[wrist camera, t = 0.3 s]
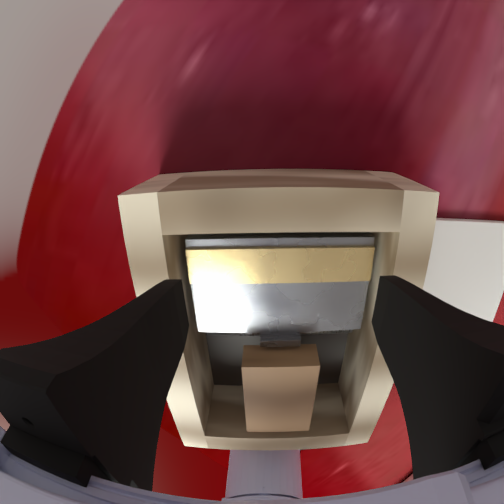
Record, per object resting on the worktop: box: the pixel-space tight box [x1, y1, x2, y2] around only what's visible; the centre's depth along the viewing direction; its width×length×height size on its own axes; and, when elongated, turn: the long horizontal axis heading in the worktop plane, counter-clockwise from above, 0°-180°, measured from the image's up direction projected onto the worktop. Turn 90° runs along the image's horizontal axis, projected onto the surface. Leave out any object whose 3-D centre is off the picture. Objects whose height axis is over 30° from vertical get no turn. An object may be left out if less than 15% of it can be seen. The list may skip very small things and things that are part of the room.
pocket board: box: [118, 169, 439, 450], centre depth 19 cm, size 20×15×6 cm
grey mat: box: [423, 218, 504, 322], centre depth 21 cm, size 14×10×1 cm
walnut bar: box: [241, 344, 320, 432], centre depth 19 cm, size 7×4×2 cm, turn 2°
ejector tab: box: [185, 232, 375, 347], centre depth 18 cm, size 14×10×2 cm
